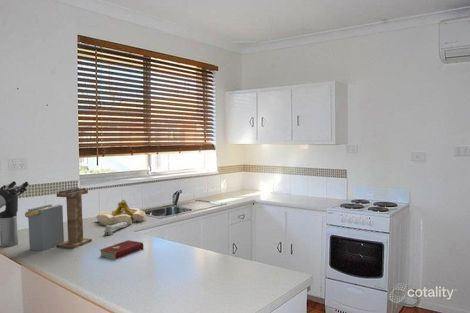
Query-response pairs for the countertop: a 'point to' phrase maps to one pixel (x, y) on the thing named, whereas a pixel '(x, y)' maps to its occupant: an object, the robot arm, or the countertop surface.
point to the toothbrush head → (115, 227)
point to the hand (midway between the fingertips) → (21, 182)
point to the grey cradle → (46, 227)
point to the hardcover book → (121, 249)
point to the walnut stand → (74, 218)
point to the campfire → (121, 215)
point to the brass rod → (34, 212)
